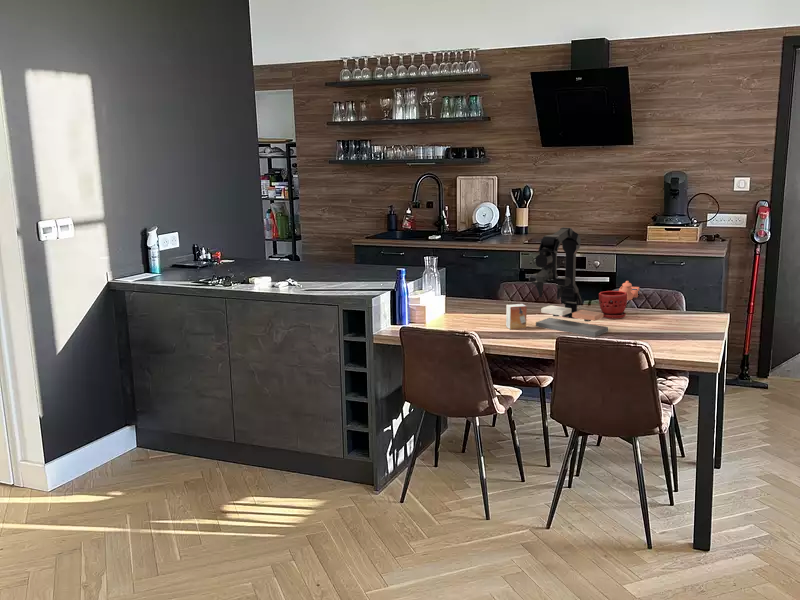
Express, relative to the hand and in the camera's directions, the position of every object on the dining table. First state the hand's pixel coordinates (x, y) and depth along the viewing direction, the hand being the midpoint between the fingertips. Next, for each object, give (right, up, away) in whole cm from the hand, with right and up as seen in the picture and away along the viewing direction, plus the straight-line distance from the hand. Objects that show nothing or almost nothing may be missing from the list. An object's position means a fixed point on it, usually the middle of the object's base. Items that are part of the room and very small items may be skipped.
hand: (549, 298), depth 356 cm
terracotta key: (+16, -10, -6) cm, 20 cm away
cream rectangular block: (+4, -8, +5) cm, 10 cm away
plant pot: (+34, -9, +23) cm, 42 cm away
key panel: (+10, -14, +1) cm, 17 cm away
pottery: (+55, +1, +69) cm, 88 cm away
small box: (-14, -14, +5) cm, 20 cm away
